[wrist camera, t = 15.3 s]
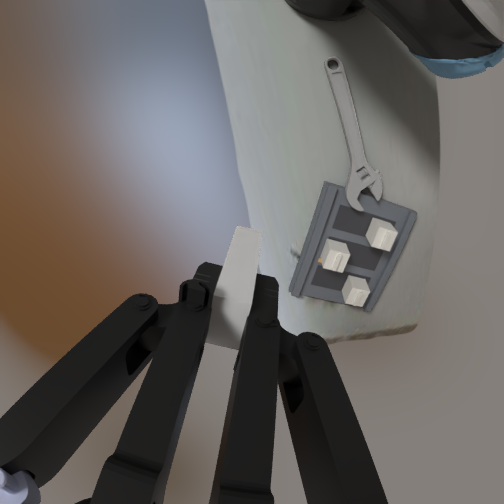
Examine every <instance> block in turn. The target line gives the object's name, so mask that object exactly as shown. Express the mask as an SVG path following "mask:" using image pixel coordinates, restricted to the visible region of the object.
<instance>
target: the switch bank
mask: <svg viewBox="0 0 504 504" xmlns="http://www.w3.org/2000/svg"><path fill="white" fill-rule="evenodd" d="M357 200H358V202H359V203H360V205H361V206H362V208H363V209H364V210H363V211H359V210H356V209H355V208H353V207H352V206H351V205H350V204H349V202H348V201H347V199H346V197H345V187H343V186H339V185H336V184H333V183H329V182H326V181H324V184H323V187H322V191H321V194H320V197H319V200H318V203H317V206H316V209H315V213H314V216H313V219H312V222H311V225H310V228H309V231H308V234H307V237H306V240H305V243H304V246H303V249H302V252H301V254H300V257H299V260H298V263H297V266H296V269H295V272H294V275H293V277H292V280H291V283H290V286H289V292H291V295H292V296H296V297H299V294H301V295H306V296H310V297H315V298H319V299H324V300H329V301H333V302H338V303H343V304H346V303H345V302H344V298H343V294H342V289H343V287H344V284H345V282H346V280H347V278H348V276H349V275H350V276H354V277H358V278H362V279H366V282H367V285H368V287H369V290H370V293H369V295H368V297H367V299H366V301H365V303H364V304H363V306H362V308H364V311H368V312H370V311H371V310H372V308H373V306H374V304H375V302H376V301H377V299H378V297H379V295H380V293H381V291H382V289H383V287H384V285H385V284H386V282H387V280H388V278H389V276H390V274H391V272H392V270H393V268H394V266H395V264H396V261H397V259H398V257H399V255H400V253H401V251H402V249H403V247H404V244H405V242H406V240H407V238H408V236H409V233H410V231H411V229H412V226H413V224H414V222H415V219H416V217H417V212H416V211H414V210H411V209H408V208H406V207H403V206H400V205H397V204H394V203H392V202H389V201H386V200H383V199H380V200H378V201H377V200H376V199H375V198H374V196H371V195H368V194H365V193H362V192H360V194H359V196H358V198H357ZM372 218H377V219H380V220H383V221H386V222H389V223H391V224H392V226H393V227H394V228H395V229H396V231H397V232H398V234H397V236H396V238H395V241H394V243H393V245H392V247H391V250H390V252H389V251H386V250H382V249H379V248H375V247H372V246H371V245H370V243H369V241H368V239H367V238H366V233H367V231H368V228H369V226H370V223H371V221H372ZM327 239H331V240H334V241H338V242H342V243H346V245H347V248H348V250H349V253H350V257H349V259H348V261H347V264H346V266H345V268H344V271H343V273H341V272H337V271H332V270H329V269H325V268H323V266H322V261H321V257H320V256H321V253H322V251H323V248H324V245H325V243H326V240H327ZM348 305H351V304H348ZM352 306H353V305H352ZM357 307H360V306H357Z"/></svg>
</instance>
